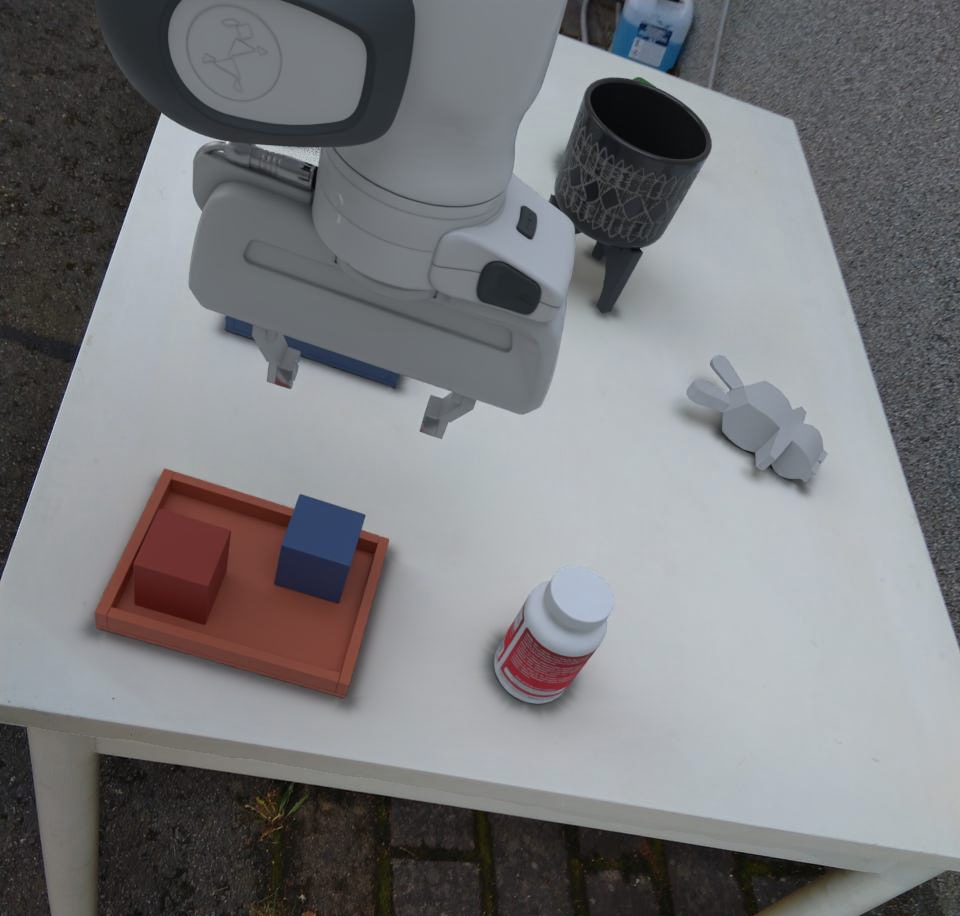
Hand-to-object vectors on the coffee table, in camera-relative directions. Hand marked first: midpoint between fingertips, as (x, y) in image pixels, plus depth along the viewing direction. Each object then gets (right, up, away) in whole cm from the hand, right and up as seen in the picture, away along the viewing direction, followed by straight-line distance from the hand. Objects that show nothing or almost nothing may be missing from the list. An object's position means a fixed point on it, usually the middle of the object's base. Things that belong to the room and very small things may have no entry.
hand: (358, 404), depth 57 cm
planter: (+18, +25, +44) cm, 54 cm away
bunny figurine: (+35, +6, +39) cm, 52 cm away
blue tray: (-7, +16, +30) cm, 35 cm away
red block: (-14, -11, +10) cm, 20 cm away
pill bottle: (+11, -17, +16) cm, 26 cm away
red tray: (-10, -10, +12) cm, 19 cm away
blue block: (-5, -9, +14) cm, 18 cm away
